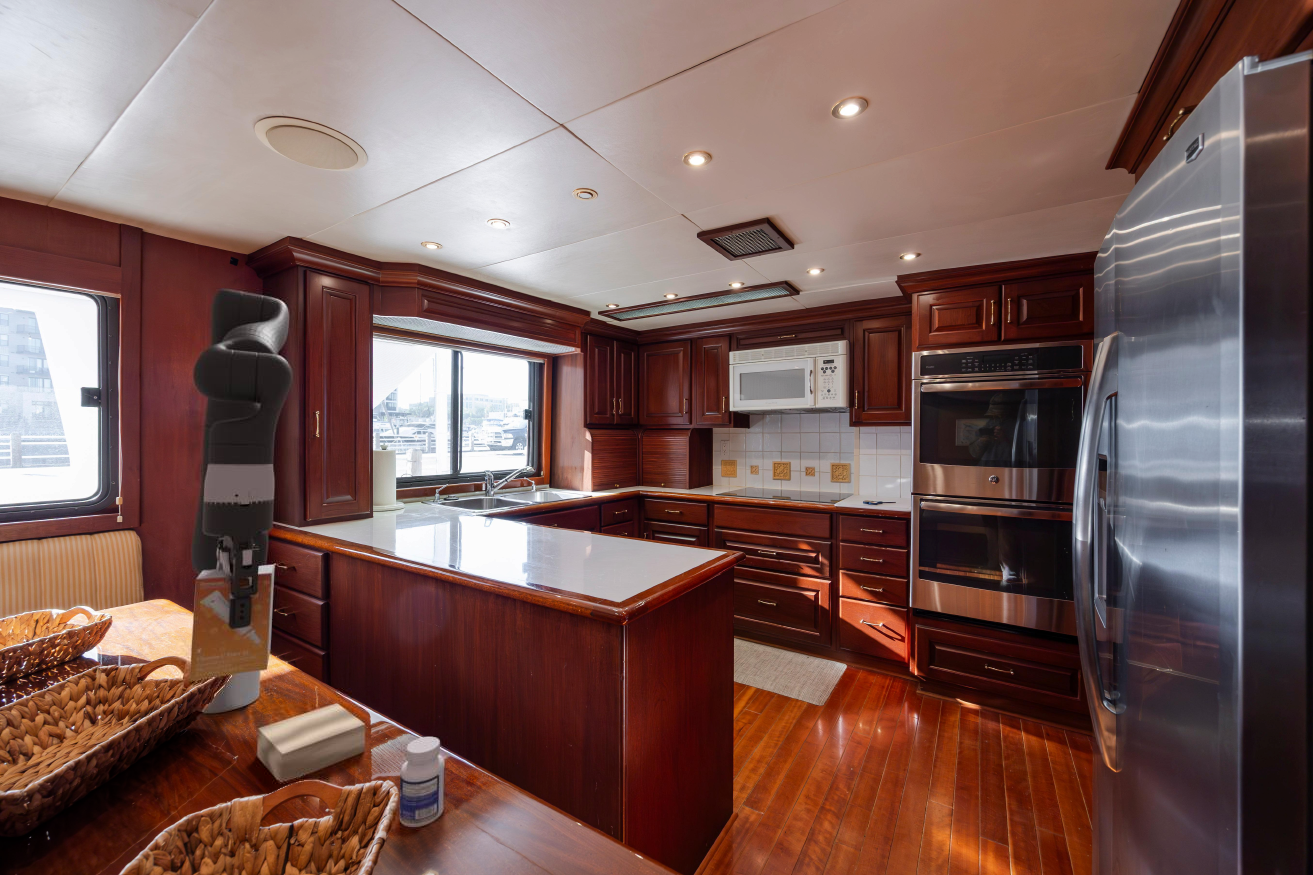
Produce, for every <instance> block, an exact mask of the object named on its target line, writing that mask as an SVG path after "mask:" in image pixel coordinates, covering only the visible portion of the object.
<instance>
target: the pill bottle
mask: <svg viewBox="0 0 1313 875" xmlns="http://www.w3.org/2000/svg"><path fill="white" fill-rule="evenodd" d="M440 750H441V741H440V739H439V738H438V737H434V736H423V737H419V738H416V739H414V740H412V741H411V742H409V743H408V744H407V746H406V752H405V759H406V761H404V763H403V764H402V766H401V768H400V776H399V777H400V780H399V783H400V784H399V816H398V817H399V821H400V823H401V824H402V825H404V826H405V827H409V828H419V827H423V826H427V825H428V824H431V823H433V822H434V821H436V820H438V818H439V817H440V816H441V815H442V813H443V811H444V808H445V777H446V776H445V774H446V773H445V772H446V769H445V768H446V763H445V762H446V761H445V758H444V757H443V756H442V755H441V754H440Z"/></svg>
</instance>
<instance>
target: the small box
mask: <svg viewBox="0 0 1313 875" xmlns="http://www.w3.org/2000/svg"><path fill="white" fill-rule="evenodd" d="M275 568H276V566H275V564H266V565H264V566H259V569H258V592H257V595H254V597H252V608H251V624H250V625H249V626H247V627H242V628H237V629H231V628H230V627H229V607H230V598H229V597H228V594H229V585H228V584H227V583H225V582H224V576H223V570H217V569H214V570H203V571H202V572H201V574H198V576H197V577H196V579H195V588H194V600H193V601H194V602H193V603H194V604H193V616H192V618H193V619H192V633H191V634H192V635H191V650H190V669H189V670H190V671H189V681H190V682H197V680H201V679H207V678H213V677H219V676H226V675H233V674H240V673H246V672H253V671H260V672H261V671H267V669H268V667H269V660H270V654H271V644H272V641H271V640H272V622H273V620H272V619H273V601H274V583H275ZM245 586H248V580H242V581H239V587H245Z"/></svg>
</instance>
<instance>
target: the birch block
mask: <svg viewBox="0 0 1313 875" xmlns="http://www.w3.org/2000/svg"><path fill="white" fill-rule="evenodd" d="M365 741H366V724H365V723H364V722H363V721H362V720H360V719H359V718H357V716H355V715H353V713H351V712H349V711H348V710H346V709H345V708H344V707H342V706H341V705H340V704H339V703H338V702H336V703H334V704H329V705H326V706H323V707H320V708H318V709H313V710H311V711H308V712H305V713H301V714H299V715H296V716H292V717H290V718H287V719H283V720H280V721H277V722H274V723H270V724H267V725H264V726H261V727H258V728H257V750H256V751H257V752H256V757H257V758H258V759H259V760H260V762H262V763H263V765H264V766H265V767H266V768H267V770H268V771H269V772H270V773H271V774H272V775H273V776H274V778H275V779H276V780H277V781H278V780H279V781H280V782H283V781H287V780H289V779H293V778H296V777H299V778H301V776H302V777H304V776H306V774H307V775H309V774H312V773H314V772H316V771H319V770H321V769H325V768H327V767H329V766H332V765H334V764H337V763H339V762H341V761H344V760H347V759H349V758H351V757H355V756H356V755H359V754H361V753H364V752H365V745H366V744H365ZM303 775H304V776H303ZM279 781H278V782H279ZM280 782H279V783H280Z"/></svg>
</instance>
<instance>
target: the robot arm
mask: <svg viewBox="0 0 1313 875" xmlns="http://www.w3.org/2000/svg"><path fill="white" fill-rule="evenodd" d="M213 296H214V297H213V300H212V303H211V314H210V346H209V347H207V348H206V349H204V351H203V352H202V353H201V354H200V355H199V357H198V358H197V360H196V361H195V364H194V368H193V372H192V376H193V382H194V385H195V387H196V389H197V390H198V392H199V393H200V394H201V395H202V396H204V397H205V398H207V400H206V409H205V416H204V427H203V440H202V459H201V461H202V462H201V481H200V490H199V491H200V492H199V498H198V502H197V503H198V504H197V511H196V517H195V524H194V529H193V535H192V542H191V550H190V551H191V552H190V553H191V554H190V557H191V559H190V560H191V565H192V566H191V567H192V569H193V570H194V572H195V573H197V574H198V575H200V574H201V572H202V571H203V570H214V569H217V570H223V576H224V582H225V583H227V584H228V585H229V594H228V597H229V598H230V607H229V627H230V628H231V629H237V628H242V627H247V626H249V625H250V624H251V608H252V597H254V595H257V592H258V569H259V566H264V565H267V561H268V560H267V559H268V552H269V531H271V530H273V527H274V526H273V525H274V506H275V505H274V504H275V501H274V500H275V484H276V483H275V472H274V452H275V434H276V429H277V425H278V420H279V418H280V415H281V412H282V408H283V406H284V405H285V401H286V399H287V396H288V394H289V391H290V388H291V386H292V382H293V370H292V367H291V366H290V364H289V362H288V361H287V360H286V358H284V357H283V356H282V355H279V352H280V351H281V350H282V348H283V346H284V345H285V343H286V341H287V339H288V334H289V326H290V312H289V309H288V306H287V305H286V304H285V302H283V300H280V299H279V298H275V297H272V296H267V295H261V294H256V293H251V292H245V291H240V290H235V289H228V288H220V289H218V290H217V291H216V293H214V295H213ZM242 580H248V586H245V587H239V581H242ZM260 684H261V671H253V672H246V673H240V674H233V675H232V677H231V678H230V679H229V681H228V682H227V683H226V684H225V686H224V687H223V688H222V689H221V690H220V691H219V692H218V693H217V694H216V696H215V697H214V700H213V701H212V702H211V703H210V704H209V705H208V706H207V707H206V708H205V710H204V712H203V713H202V714H219V713H225V712H229V711H232V710H236V709H240V708H243V707H245V706H247V705H250V704H252V703H253V702H255V701H256V700H257V699H258V698H259V697H260V688H261V687H260Z"/></svg>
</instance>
